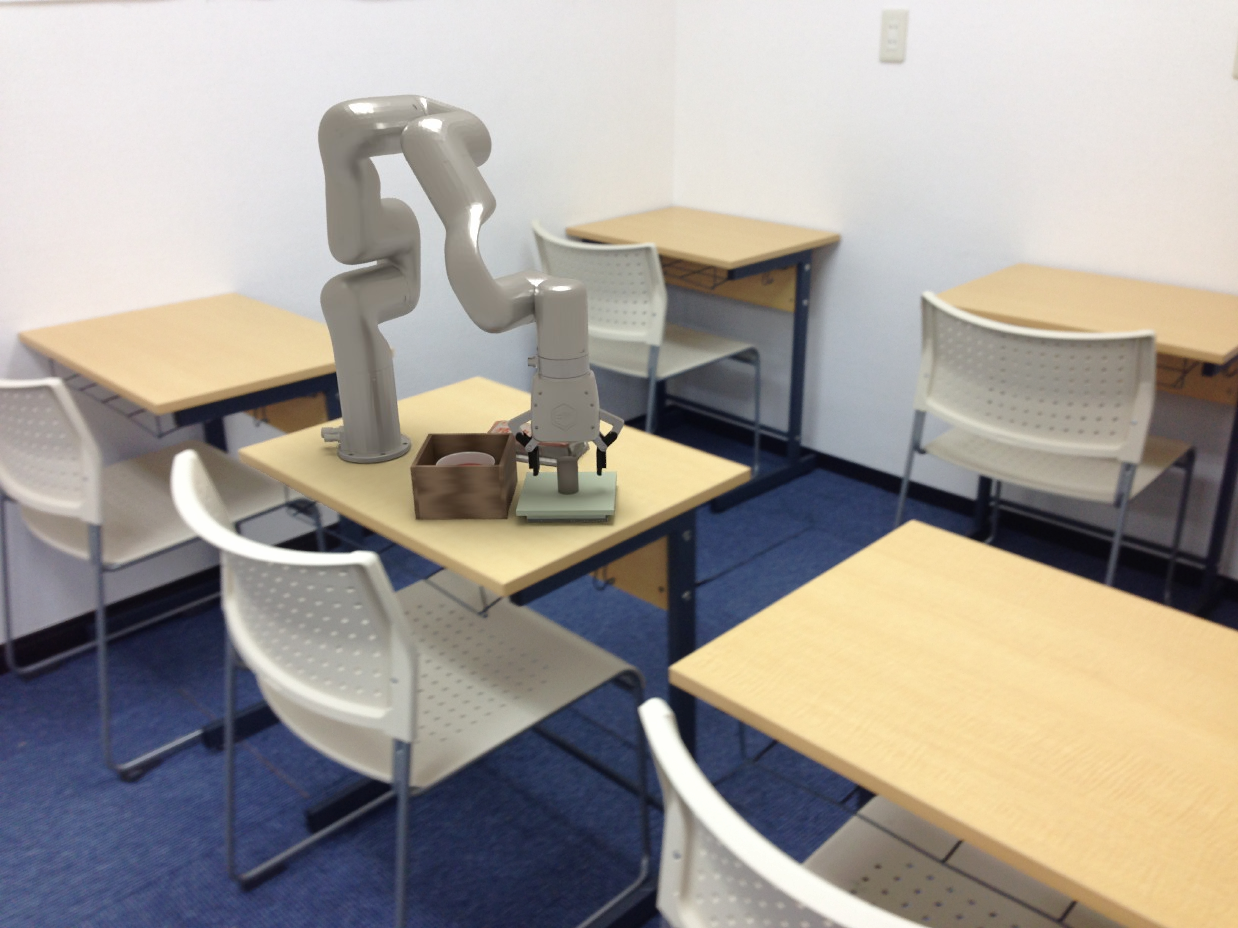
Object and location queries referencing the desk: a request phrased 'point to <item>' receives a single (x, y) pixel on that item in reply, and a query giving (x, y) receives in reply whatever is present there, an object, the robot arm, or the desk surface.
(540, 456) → the packaged product
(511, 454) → the box
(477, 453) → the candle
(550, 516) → the lid
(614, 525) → the desk surface
